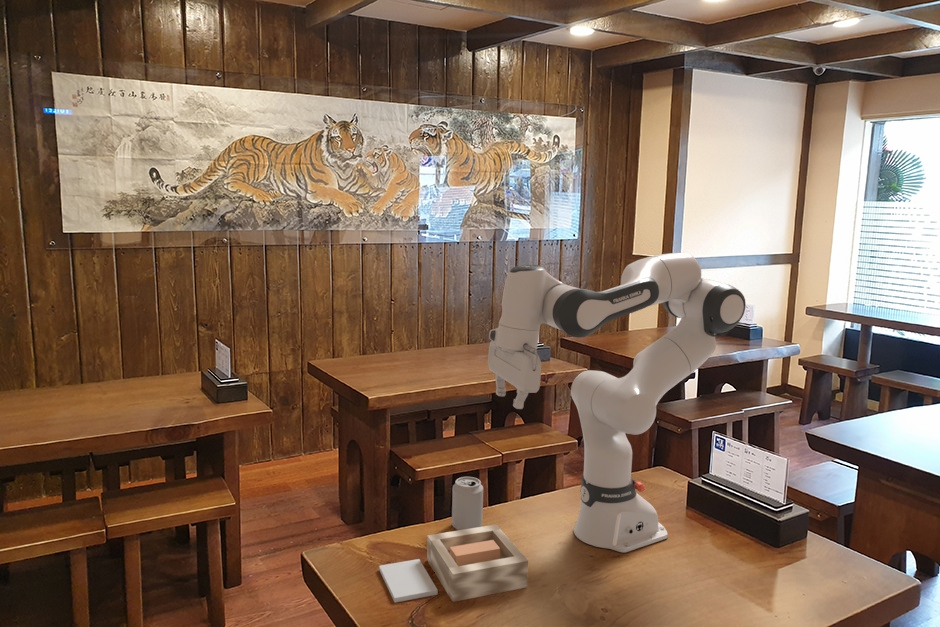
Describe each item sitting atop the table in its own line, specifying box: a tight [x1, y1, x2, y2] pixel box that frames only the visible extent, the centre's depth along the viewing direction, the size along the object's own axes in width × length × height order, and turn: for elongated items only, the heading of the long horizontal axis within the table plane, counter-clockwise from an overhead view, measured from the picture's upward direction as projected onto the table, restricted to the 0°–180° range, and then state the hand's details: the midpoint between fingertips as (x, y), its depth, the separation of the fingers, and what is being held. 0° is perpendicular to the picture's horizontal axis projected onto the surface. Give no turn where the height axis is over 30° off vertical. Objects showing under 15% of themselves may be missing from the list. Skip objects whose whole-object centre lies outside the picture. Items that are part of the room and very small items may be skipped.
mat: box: [378, 558, 439, 603], centre depth 149 cm, size 9×13×1 cm
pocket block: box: [426, 524, 529, 603], centre depth 153 cm, size 16×17×6 cm
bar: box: [450, 540, 500, 566], centre depth 152 cm, size 10×4×3 cm, turn 111°
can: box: [451, 476, 484, 531], centre depth 173 cm, size 8×8×12 cm
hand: (508, 401), depth 155 cm, fingers open, 8 cm apart
